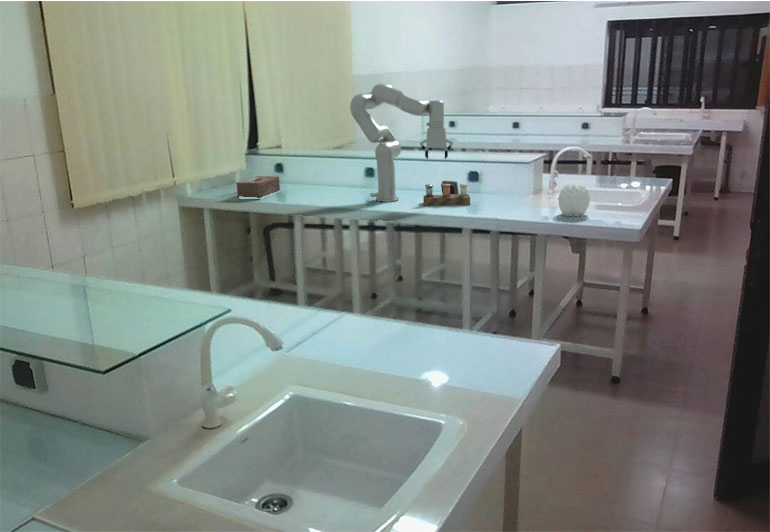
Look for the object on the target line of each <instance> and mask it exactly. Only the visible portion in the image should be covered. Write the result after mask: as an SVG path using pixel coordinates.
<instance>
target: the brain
mask: <svg viewBox="0 0 770 532" xmlns="http://www.w3.org/2000/svg"><path fill="white" fill-rule="evenodd" d="M557 200H558V206H559V210H560V211H561V214H563V215H564V216H565V215H566V217H571V216H573V217H578V216H579V217H581V216H582V215H585V214H586V211H587V209H588V208H589V207H590V202H591V197H590V192H589V190H588V189H587V187H586V186H585V185H583V184H580V183H569V184H566V185H565V186H564V185H563V187H562V189H561V190H560V192H559V195H558V199H557Z"/></svg>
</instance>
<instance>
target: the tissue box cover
mask: <svg viewBox="0 0 770 532" xmlns="http://www.w3.org/2000/svg"><path fill="white" fill-rule="evenodd" d="M236 190H237V191H236V193H237V194H236V195H237V197H238V196H243V197H257V198H261V197H263V196H266V195H269V194H271V193H274V192H277V191H279V190H280V191H281V185H280V176H264V175H263V176H260V175H259V176H254V177H250V178H247V179H244V180H241V181H238V182H236Z"/></svg>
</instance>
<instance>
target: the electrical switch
mask: <svg viewBox="0 0 770 532" xmlns="http://www.w3.org/2000/svg"><path fill="white" fill-rule="evenodd" d="M442 184H450V195H451V194H460V191H459V184H458V181H456V180H442V181H441V183H440V187H441V193H442V194H441V195H443V187H442Z"/></svg>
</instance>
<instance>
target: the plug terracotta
mask: <svg viewBox="0 0 770 532" xmlns="http://www.w3.org/2000/svg"><path fill="white" fill-rule="evenodd" d="M441 184H442V183H441ZM442 187H443V194H442V195H443V197H450V184H442Z"/></svg>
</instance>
